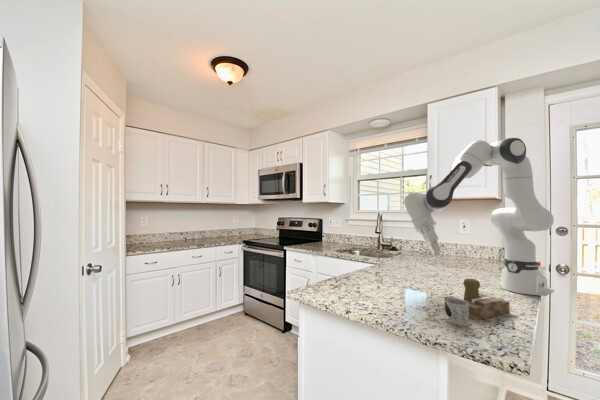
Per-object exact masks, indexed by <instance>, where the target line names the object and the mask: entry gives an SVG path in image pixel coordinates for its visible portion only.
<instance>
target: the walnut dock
mask: <svg viewBox="0 0 600 400" xmlns="http://www.w3.org/2000/svg"><path fill="white" fill-rule="evenodd" d="M479 297H480V298H482V297H491V298H489V299H483V300H477V301H475V303H472V302H469V301H466V300H464V298H460V297H456V296H453V295H449V296H444V301H445V300H446V299H450V298H451V299H459V300H463V301H466V302H468V303H469V318H470V319H472V320H475V321H478V320H483V319H488V318H494V317H497V316H502V315H506V314H508V315H509V314H510V301H507V300H504V299H500V298H497V297H494V296H491V295H487V294H483V293H480V292H479Z"/></svg>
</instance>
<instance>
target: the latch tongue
mask: <svg viewBox="0 0 600 400" xmlns="http://www.w3.org/2000/svg"><path fill="white" fill-rule="evenodd" d="M491 297H492V296H491ZM491 297H482V298H476V299H472V303H475V301H477V300H483V299H489V298H491Z"/></svg>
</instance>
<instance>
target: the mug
mask: <svg viewBox="0 0 600 400" xmlns="http://www.w3.org/2000/svg"><path fill="white" fill-rule="evenodd" d="M463 300H464V299H463ZM463 300H459V299H451V298H450V299H446V300H445V299H444V310H445V312H444V314H445V315H444V316H445V322H446V323H448V324H449V325H452V326H455V327H462V328H463V327H464V328H465V327H468V326H469V325H470V324H469V323H470V319H469V303H468V302H466V301H463Z"/></svg>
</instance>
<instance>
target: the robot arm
mask: <svg viewBox="0 0 600 400" xmlns="http://www.w3.org/2000/svg"><path fill="white" fill-rule="evenodd" d="M494 166H500V167H501V168H502V184H503V194H504V197H506V198H508V199H509V200H511V201H512V203H513V204H514V207H512V206H510V207H500V208H496V209H495V210H493V211H492V213H491V215H490V221H491V224H493V226H494V227H495V228H497V230H498V231H499V232H500V234H501V236H502V238H503V241H504V251H505V253H504V254H505V255H504V256H505V257H504V261H503V263H504V264H503V265H504V268H502V270H501V277H500V282H498V286H499V287H501V289H503V290H505V291H509V292H513V293H517V294H522V295H523V294H524V295H532V296H541V297H542V296H543V297H547V296H549V295H550V294H553V293H555V289H554V288H551V287H548V278H547V277H546V276H545V275H544V274H543V273H541V272H540V270H539V267H541V265H542V264H541V261H537V258H536V256H537V255H536V244H535V243H534V242H533V241H532V240H530V239H529V238H528V237H527V235H525V232H542V231H549V229H551V228H552V226H553V225H554V220H555V218H554V215H553V213H552V212H551V211H550V210H549V209H547V208H545V206H543V205H542V204H541V203H540V202H539V200H538V199H537V196H536V193H535V188H534V178H533V177H534V175H533V168H532V164H531V161H530V158H529V157H528V156H527V146H526V144H525V142H524V141H523V140H522V139H520V138H518V137H508V138H505V139H501V140H500V139H499V140H498V141H495V142H493V143H489V142H487V141H485V140H481V139H479V140H474V141H473V142H471V143H470V144H469V145H468V146H466V147H465V148H464V150H462V151H461V152H460V154H459V155H458V156H457V157H456V158H455V161H454V162H453V164H452V166H451V170H450V171H449V172H448V174H446V176H445V177H444V178H443V179H442V180H441V181H439V183H437V184H434V185H433V186H431V187H430V188H429V189H427V192H420V191H417V190H416V191H412V192H410V193H408V194H407V195H406V196H405V197H404V200H403V203H404V204H403V205H404V207H405V210H406V212H407V215H409V217H410V218H411V222H412V225H413V227H414V229H415V231H416V232H418V233H419V234H420V235H421V236H422V237H423V239H424V241H425V242H426V244H427V246H428V247H429V248H431V249H432V250H433V252H434V253H435V255H436V256H438V255H440V253H441V250H442V249H441V248H440V245H439V242H438V241H439V237H438V235H437V233H436V231H435V230H436V228H435V226H436V225H437V224H436V221H435V220H434V218H433V216H432V215H437V214H441V213H442V212H444V211H445V210H446V208H447V207H448V205H449V204H450V203H451V202H452V200H453V197H454V192H455V190H456V189H457V187H458V186H459V185H460V184H461V182H463V181H464V180H465V179H471V178H472V177H474V176H475V175H476V174H478V172H479V171H480V170H481V169H482V168H483V167H494Z"/></svg>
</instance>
